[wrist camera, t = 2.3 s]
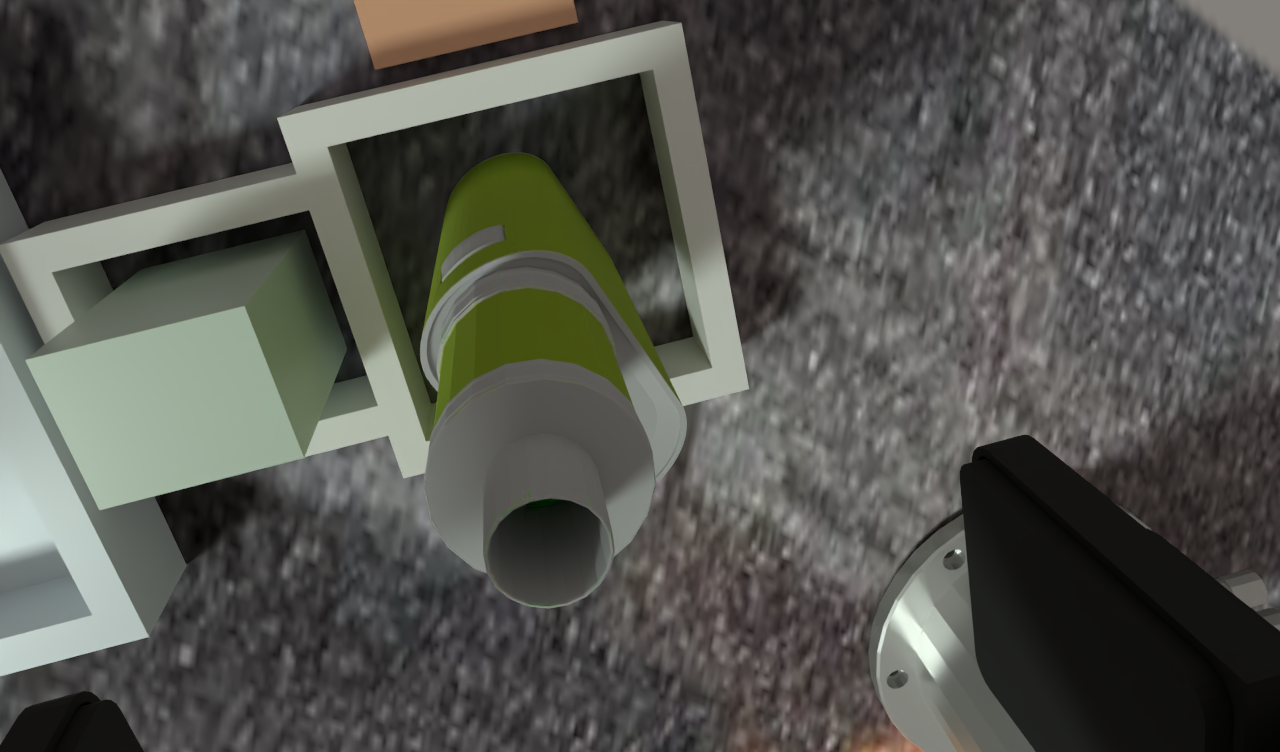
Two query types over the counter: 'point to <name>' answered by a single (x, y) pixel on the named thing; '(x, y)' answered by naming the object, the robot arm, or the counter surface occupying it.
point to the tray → (63, 519)
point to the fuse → (195, 370)
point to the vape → (538, 389)
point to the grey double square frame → (328, 187)
